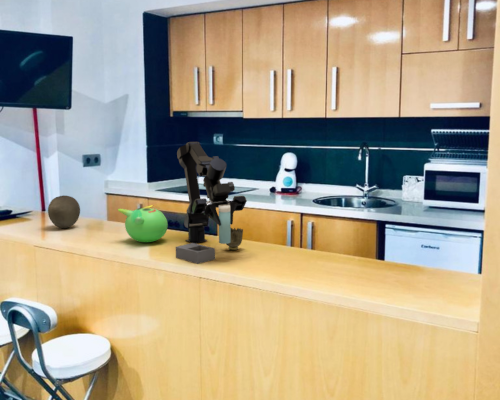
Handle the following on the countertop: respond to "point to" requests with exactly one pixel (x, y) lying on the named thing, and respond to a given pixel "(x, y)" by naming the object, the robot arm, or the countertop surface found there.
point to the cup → (235, 239)
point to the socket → (195, 253)
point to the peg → (224, 224)
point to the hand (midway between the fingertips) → (226, 224)
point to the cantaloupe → (64, 211)
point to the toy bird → (145, 224)
